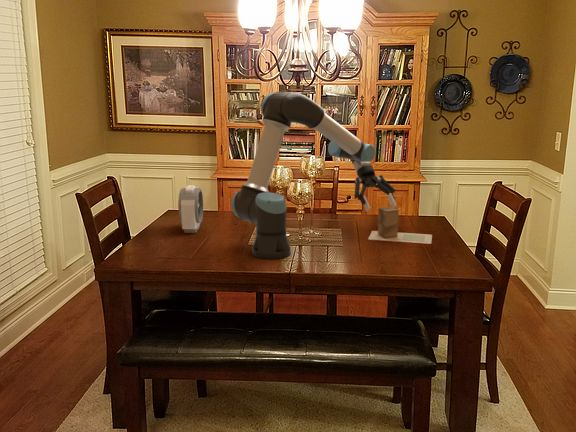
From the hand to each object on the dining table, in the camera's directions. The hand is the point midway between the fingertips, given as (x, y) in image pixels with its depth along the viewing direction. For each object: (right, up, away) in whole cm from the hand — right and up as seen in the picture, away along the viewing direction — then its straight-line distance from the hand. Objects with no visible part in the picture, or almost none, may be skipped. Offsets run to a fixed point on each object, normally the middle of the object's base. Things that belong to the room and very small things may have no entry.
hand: (381, 208), depth 255 cm
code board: (+7, -13, -5) cm, 15 cm away
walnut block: (+2, -12, -4) cm, 13 cm away
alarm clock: (-85, -10, +10) cm, 86 cm away
